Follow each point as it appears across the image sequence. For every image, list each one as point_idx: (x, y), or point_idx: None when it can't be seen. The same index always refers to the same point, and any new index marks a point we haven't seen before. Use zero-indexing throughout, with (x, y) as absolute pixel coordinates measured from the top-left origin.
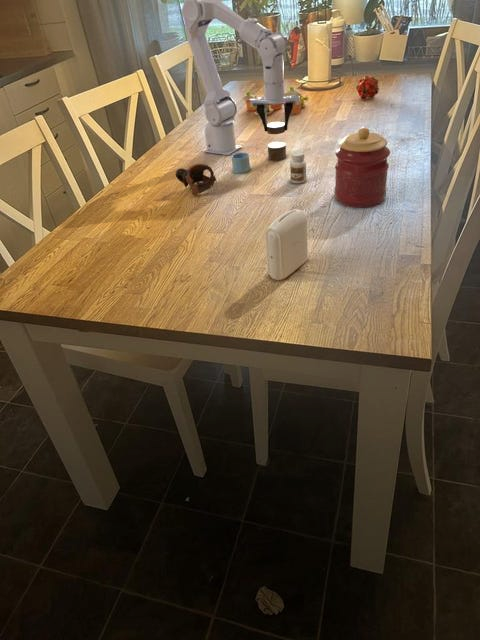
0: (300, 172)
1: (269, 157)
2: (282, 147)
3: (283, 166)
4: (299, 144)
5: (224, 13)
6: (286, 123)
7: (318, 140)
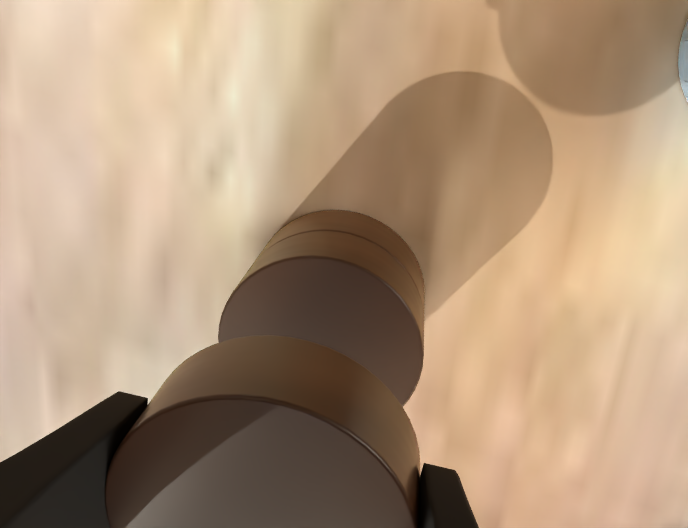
0: None
1: (416, 268)
2: (258, 266)
3: (297, 32)
4: None
5: None
6: (53, 448)
7: None
